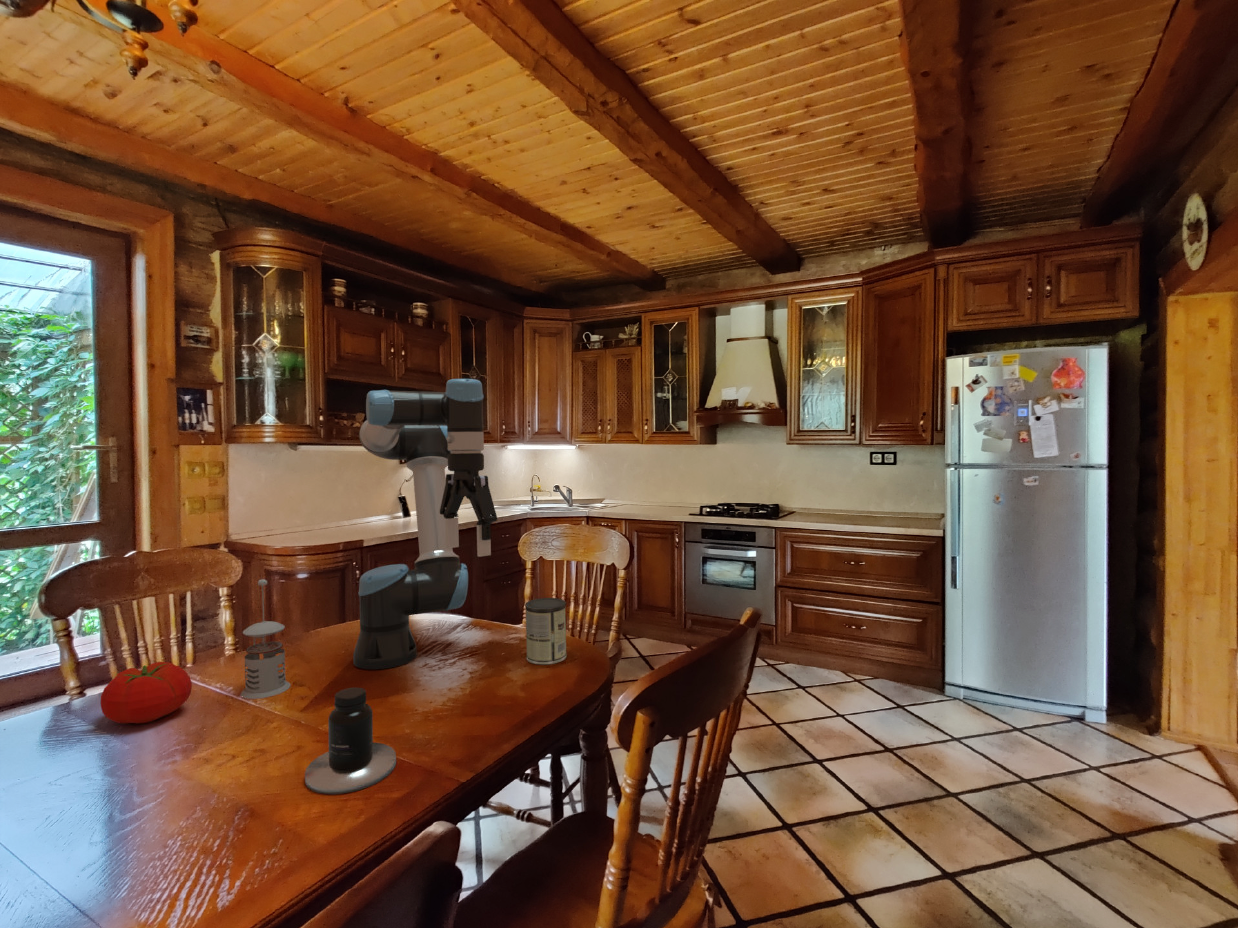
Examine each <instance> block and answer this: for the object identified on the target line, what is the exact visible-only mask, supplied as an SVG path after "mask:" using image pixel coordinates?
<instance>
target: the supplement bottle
mask: <svg viewBox="0 0 1238 928" xmlns="http://www.w3.org/2000/svg"><path fill="white" fill-rule="evenodd" d="M366 695H367V691H366V689H365V688H363V687H349V688H344V689H341V690H340V691H338V692H336V693H335V695H334V709H333V710H332V711H331V712H330V713H329V716H328V725H327V726H328V727H327V728H328V751H329V766H330V768H331V769H332V770H334V771H337V772H351V771H355V770H358V769H360V768H363V767H364V766H366V765H367V764H368V763H369V762H370V761H371V759H372V757H373V741H374V739H373V737H374V736H373V733H374V731H373V730H374V729H373V725H374V724H373V722H374V721H373V720H374V719H373V709H372V707H371V706H370V705H369V704H368V703H367V696H366Z"/></svg>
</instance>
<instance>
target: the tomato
mask: <svg viewBox="0 0 1238 928" xmlns="http://www.w3.org/2000/svg"><path fill="white" fill-rule="evenodd" d="M192 686H193V682H192V679H191V677H190V675H189V674H188V673H187V672H186V670H184V669H183V668H181V667H180V666H179V665H176V664H174V663H173V662H167V661H157V662H153V663H151V664H148V665H143V666H142V668H141V669H137V668H135V667H131V668H127V669H124V670H123V671H121V672H118V674H116V675H115V677H113V679H112V680H110V681H109V683H107V685H106V686H104V688H103V691H102V692H101V695H100V707H101V712H102V714H103V715H104V717H105V718H107V719H108V720H111V721H112V722H115V723H116V724H122V725H123V724H146V723H147V724H148V723H151V722H153V721H156V720H158V719H160V718H163V717H165V716H167V715H169V714H171V713H173V712H174V711H176V710H178V709H179V708H180V707H182V706H183V705H184V704H185V702H187V701H188V700H189V697H190V695H191V693H192Z"/></svg>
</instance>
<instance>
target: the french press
mask: <svg viewBox="0 0 1238 928" xmlns="http://www.w3.org/2000/svg"><path fill="white" fill-rule="evenodd" d="M266 585H268V580H266V579H264V578H263V579H259V580H258V582H257V586H261V602H262V621H261V622H257V623H253V624H252V625H250V626H248V627H246V629H244V630H243V631H242V634H243V635H244V636H246V637H252V638H253V645H250V646H248V647H247V648H246V650H245V653H247V654H246V655H244V676H245V677H244V682H245V684H244V685H245V687H244V688H243V690H242V691H241V692H240V697H242V696H243V697H242V698H244V699H248V700H249V699H250V700H252V699H253V700H254V699H255V700H256V699H257V700H258V699H264V698H269V697H273V696H276V695H277V696H278V695H280V694H282V693H284V692H286V691H287V690H289V689H290V688H291V683H290V682H289V681H287V680H286V662H285V661H286V657H285V656H286V652H285V649H284V648H283V645H284V644H283V643H282V642H280V641H267V642H266V637H268V636H271V635H275V634H277V633H281V632H282V631H284V630H285V628H286V627H285V624H282V623H280V622H277V621H272V620H271V621H268V620H267V621H266V620H265V605H264V603H265V602H264V586H266ZM260 638H261V642H259V643H256V639H260ZM260 655H262V656H263V658H262V659H261V658H260ZM279 665H282V666H279ZM246 667H247V668H246ZM282 670H283V671H282ZM279 671H280V672H279Z"/></svg>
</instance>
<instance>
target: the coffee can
mask: <svg viewBox="0 0 1238 928" xmlns="http://www.w3.org/2000/svg"><path fill="white" fill-rule="evenodd" d="M524 604H525V605H524V606H525V629H526V630H525V631H526V633H525V635H526V637H525V638H526V660H527V662H529V663H530V664H533V665H534V664H535V665H552V664H553V665H555V664H557V663H558V664H559V663H560V662H562V661H565V660H566V658H567V630H566V629H567V627H566V625H567V622H566V621H567V620H566V619H567V618H566V617H567V616H566V605H567V602H566V600H564V599H561V598H556V597H541V598H540V597H539V598H534V599H531V600H529V601H527V602H525V603H524Z"/></svg>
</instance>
